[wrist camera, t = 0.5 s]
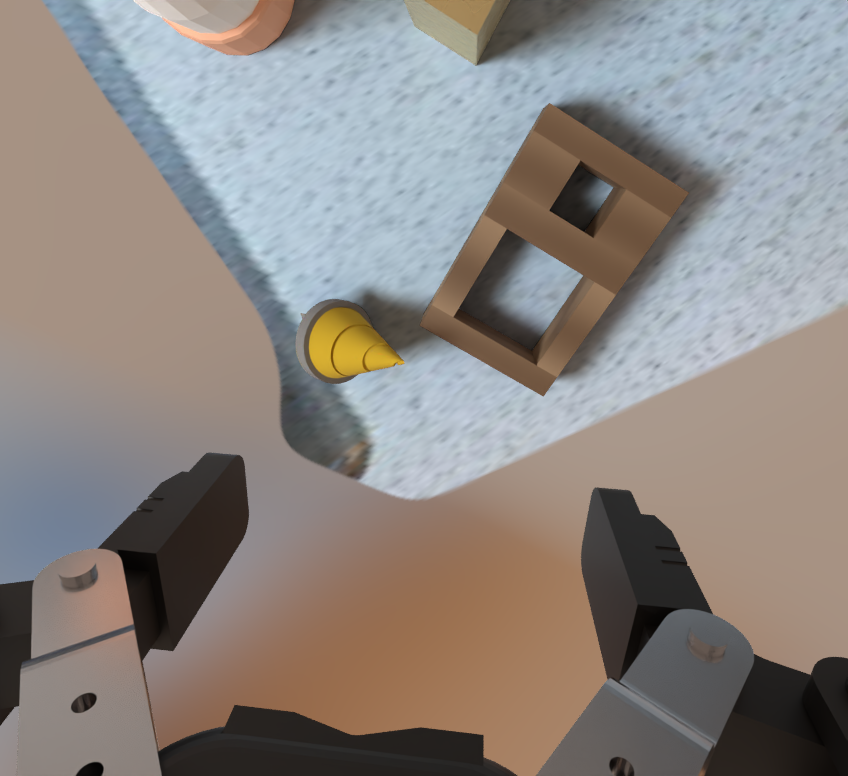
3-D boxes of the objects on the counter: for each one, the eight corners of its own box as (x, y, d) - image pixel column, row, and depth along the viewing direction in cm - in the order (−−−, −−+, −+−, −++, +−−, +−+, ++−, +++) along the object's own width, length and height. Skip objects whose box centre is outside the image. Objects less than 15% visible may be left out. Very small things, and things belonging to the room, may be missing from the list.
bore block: (543, 108, 32) (549, 103, 30) (671, 190, 33) (688, 192, 31) (423, 313, 37) (419, 325, 35) (538, 379, 38) (543, 396, 36)
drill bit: (310, 277, 38) (408, 294, 31) (354, 330, 41) (451, 357, 34) (257, 336, 36) (347, 368, 29) (307, 386, 40) (399, 426, 32)
